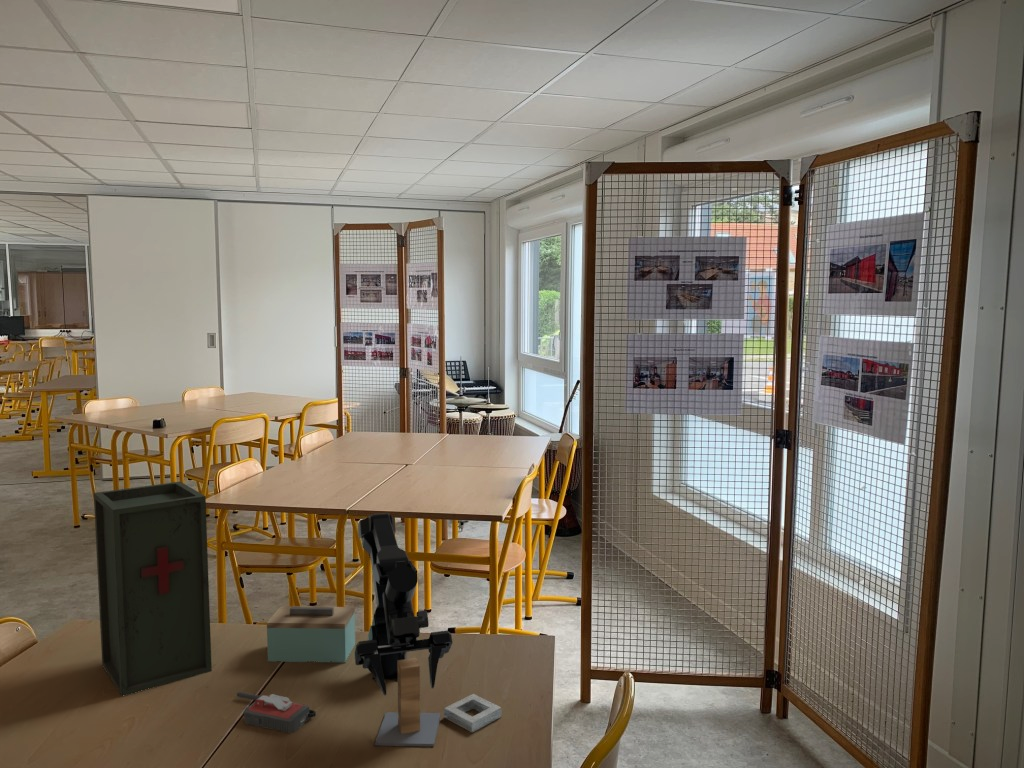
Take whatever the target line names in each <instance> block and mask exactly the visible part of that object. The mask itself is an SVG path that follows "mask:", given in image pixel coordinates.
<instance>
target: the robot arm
mask: <svg viewBox="0 0 1024 768" xmlns="http://www.w3.org/2000/svg"><path fill="white" fill-rule="evenodd" d="M396 529H397V528H396V519H395V516H392V514H391V513H389V512H384V513H380V512H379V513H372V514H371V515H369V516H368V517H364V518H363V519H359V522H358V523H357V536H358V539H360V540H361V546H362V548H363V550H364V551H365V552H367V553H368V555H370V564H371V572H372V579H373V587H374V593H375V602H376V603H375V604H376V608H375V610H374V613H373V616H372V622H371V623H372V624H371V625H370V627H369V631H368V636H367V637H368V638H367V640H362V641H361V640H360V641H358V642H357V644H355V649H354V661H355V662H354V663H355V665H356V666H362V669H368V671H369V672H370V674H371V679H372V680H375V681H376V684H378V687H379V689H380V690H381V692H382V695H383V696H387V686H386V680H391V681H392V680H396V681H398V667H397V660H404V659H408V658H407V657H408V656H407V653H409V652H415V651H416V652H417V651H422V650H428V653H429V655H428V658H427V660H428V671H429V673H428V674H429V684H430V688H431V689H434V688H435V684H436V679H437V678H436V677H437V670H438V664H439V661H440V659H442V658H444V656H445V655H446V654H448V653H450V650H451V648H452V644H453V637H452V634H451V632H450V631H448V630H440V631H433V632H430V634H429V638H424V639H418V638H420V633H421V631H420V630H421V629H423V628H428V627H429V625H430V624H429V623H430V622H429V616H428V611H427V610H426V609H425V610H420V611H419V610H418V611H416V616H415V613H414V608H413V600H412V599H413V598H414V595H415V591H416V587H417V584H418V581H419V578H418V575H419V574H418V570H417V568H416V566H415V565H414V564H413V562H412V560H411V559H409V556H408V555H407V552H406V551H405V550H404V549H402V548H400V547H399V546H398V542H397V538H396V533H397V530H396Z"/></svg>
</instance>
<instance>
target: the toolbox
mask: <svg viewBox="0 0 1024 768" xmlns="http://www.w3.org/2000/svg"><path fill="white" fill-rule="evenodd" d="M355 608H356V607H355V606H307V605H306V606H305V605H304V606H302V605H301V606H300V605H299V606H297V605H292V606H290V605H281V606H279V607H278V609H277V610H276V611H275V613H274V614H273V615H272V616H271V617H270V619H269V620H268V621H267V622H266V638H267V639H266V643H267V647H266V648H267V662H277V661H281V662H280V663H282V662H283V663H284V662H285V663H286V662H287V663H289V662H290V663H291V662H293V663H298V662H299V663H311V662H310V661H314V662H313V663H330V662H329V661H332V662H331V663H346V662H347V661H348V659H349V657H348V656H350V655H351V653H352V651H353V649H354V647H355V646H356V614H355V613H356V612H355ZM349 654H350V655H349ZM347 658H348V659H347ZM346 660H347V661H346ZM307 661H309V662H307ZM315 661H316V662H315ZM317 661H318V662H317Z"/></svg>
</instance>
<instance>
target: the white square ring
mask: <svg viewBox="0 0 1024 768" xmlns="http://www.w3.org/2000/svg"><path fill="white" fill-rule="evenodd" d="M443 710H444V713H443V714H444V716H443V717H444V719H446V720H448V721H450V722H452V723H454V724H455V725H457V726H459V727H461V728H463V729H465V730H466V731H468V732H470V733H472V734H473V733H475V732H477V731H478V730H481V729H482V728H484V727H486V726H487V725H489V724H491V723H493V722H494V721H496V720H499V719H500V718H502V707H501V706H499V705H497V704H496V703H493V702H490V701H489V700H487V699H485V698H482V697H481V696H479V695H477V694H475V693H472V694H470V695H468V696H466V697H463V698H462V699H460V700H457V701H456V702H454V703H452V704H449V705H448V706H446V707H444V709H443ZM471 710H475V711H477V712H478V713H477V714H475V715H473V716H472V715H470V714H468V713H467V712H469V711H471Z"/></svg>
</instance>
